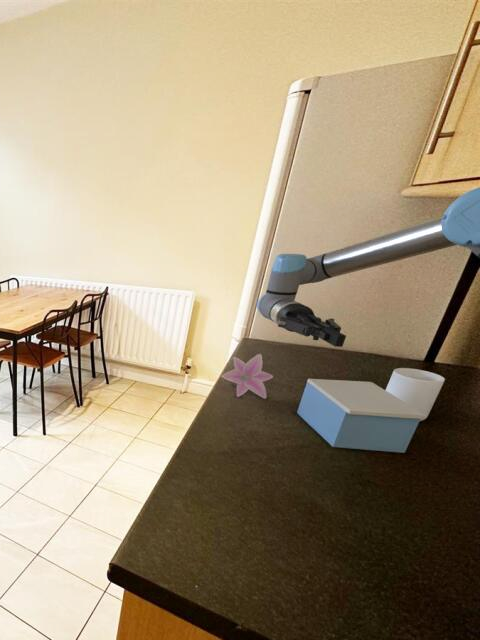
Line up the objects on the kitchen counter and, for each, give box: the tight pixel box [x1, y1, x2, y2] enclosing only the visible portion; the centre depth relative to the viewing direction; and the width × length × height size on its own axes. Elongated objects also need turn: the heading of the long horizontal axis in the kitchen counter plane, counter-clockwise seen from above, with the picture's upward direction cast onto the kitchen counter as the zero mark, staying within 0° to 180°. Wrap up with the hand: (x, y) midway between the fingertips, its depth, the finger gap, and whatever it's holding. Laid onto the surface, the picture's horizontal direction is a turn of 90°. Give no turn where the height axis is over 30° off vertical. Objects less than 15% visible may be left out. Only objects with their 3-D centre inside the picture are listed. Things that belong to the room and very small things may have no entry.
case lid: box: [306, 378, 427, 420], centre depth 88 cm, size 16×13×1 cm
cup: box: [384, 367, 446, 422], centre depth 98 cm, size 8×12×10 cm
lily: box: [221, 353, 274, 400], centre depth 111 cm, size 12×12×10 cm
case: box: [296, 381, 421, 454], centre depth 91 cm, size 16×13×8 cm
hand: (340, 341), depth 96 cm, fingers closed
